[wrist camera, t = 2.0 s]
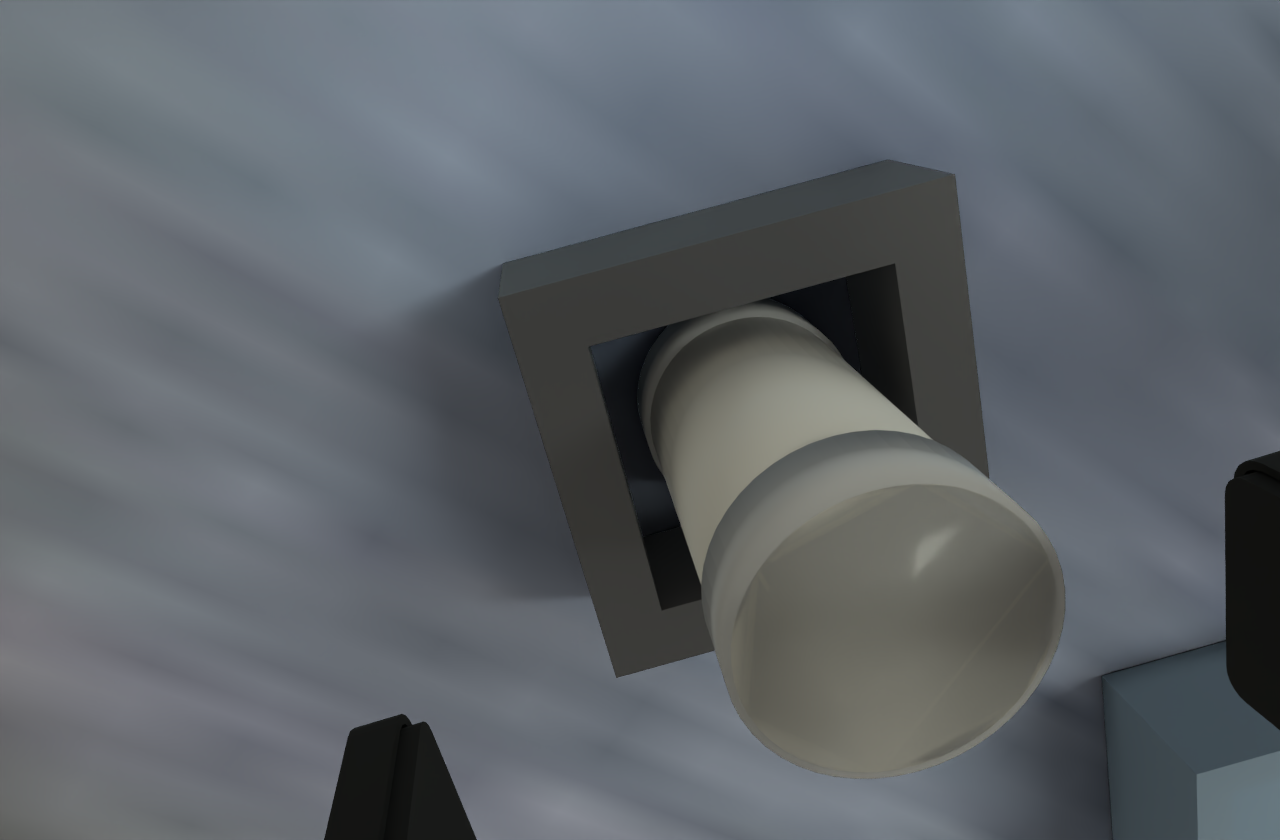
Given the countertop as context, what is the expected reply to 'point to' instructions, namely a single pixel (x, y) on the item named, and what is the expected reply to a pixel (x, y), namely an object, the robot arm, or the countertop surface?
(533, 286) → the frame
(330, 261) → the countertop surface
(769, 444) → the cylinder
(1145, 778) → the parts tray
